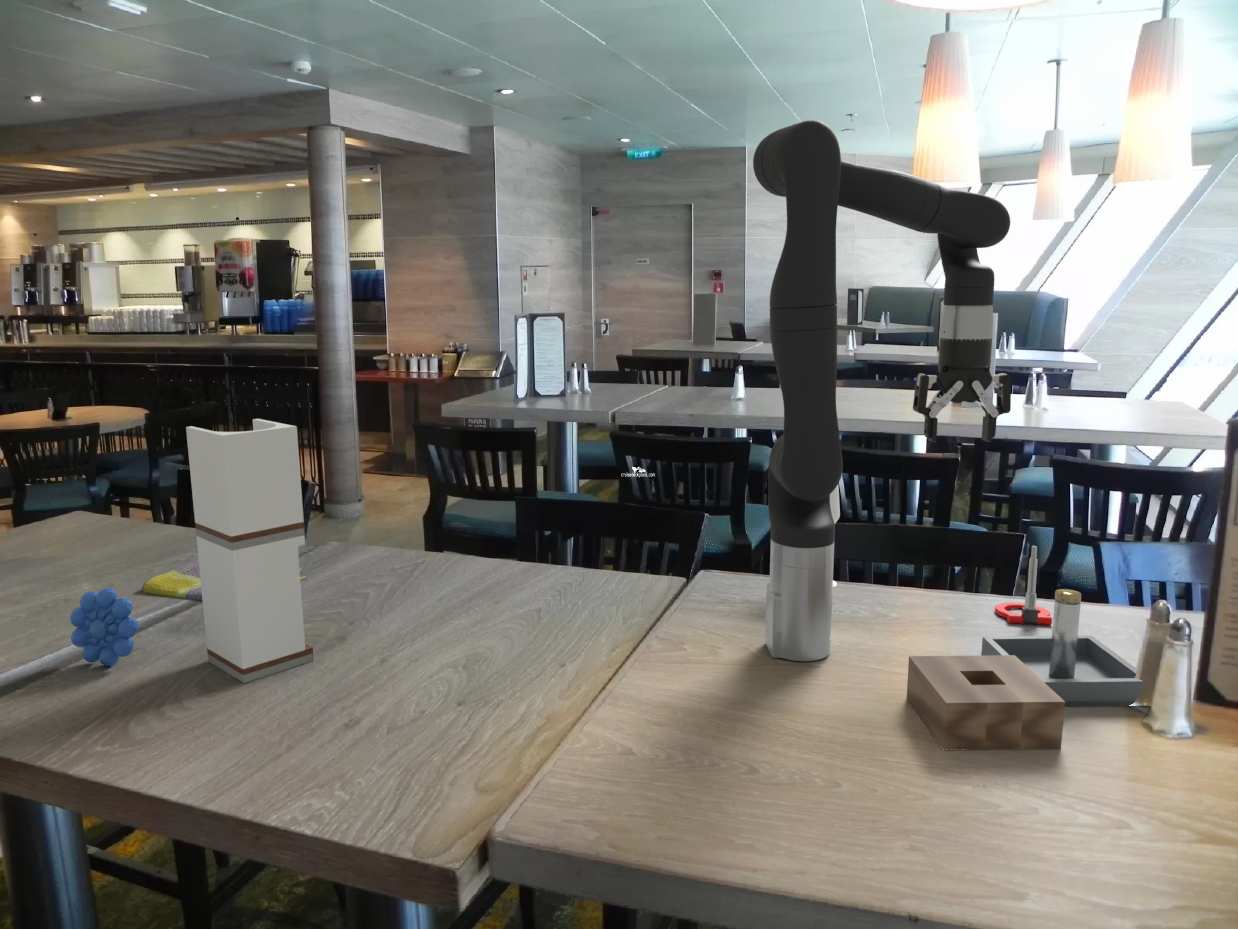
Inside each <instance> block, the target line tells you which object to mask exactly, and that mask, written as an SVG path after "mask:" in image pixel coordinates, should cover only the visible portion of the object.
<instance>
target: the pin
mask: <svg viewBox="0 0 1238 929" xmlns="http://www.w3.org/2000/svg"><path fill="white" fill-rule="evenodd" d="M1081 601H1082V593H1081V592H1079V591H1077V590H1074V589H1068V588H1059V589H1056V590H1055V591H1054V602H1053V603H1054V604H1053V614H1052V615H1053V616H1052V617H1053V618H1052V628H1051V636H1052V640H1051V652H1050V665H1049V676H1050V677H1052V678H1054V679H1074V675H1075V663H1076V651H1077V639H1078V636H1079V628H1080V627H1079V626H1080V625H1079V624H1080V614H1081Z"/></svg>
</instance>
